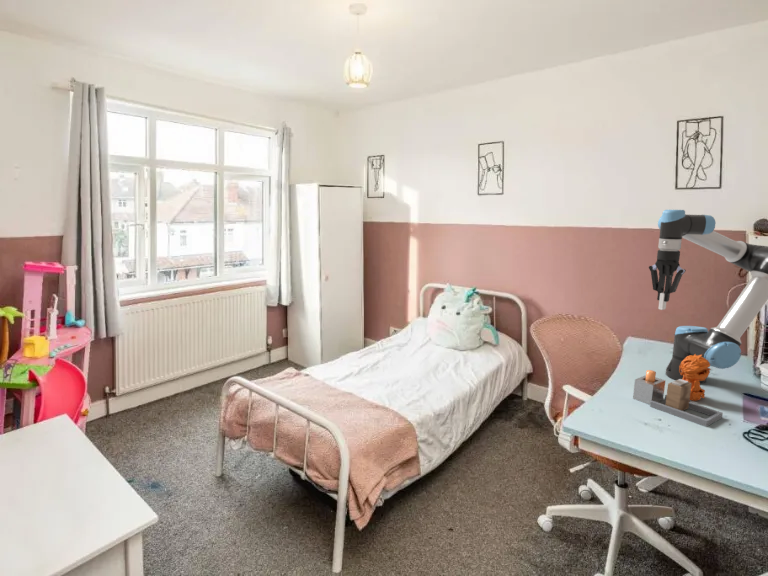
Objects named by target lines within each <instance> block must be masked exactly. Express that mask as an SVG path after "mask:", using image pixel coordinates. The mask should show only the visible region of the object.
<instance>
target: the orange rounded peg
mask: <svg viewBox="0 0 768 576" xmlns="http://www.w3.org/2000/svg"><path fill="white" fill-rule="evenodd" d="M656 374H657V372H656V371H655V370H651V369H648V370H646V371H645V375H646V379H645V380H646V381H649V382H652V383H654V382H655V377H656Z"/></svg>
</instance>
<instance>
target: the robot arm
mask: <svg viewBox="0 0 768 576" xmlns="http://www.w3.org/2000/svg"><path fill="white" fill-rule="evenodd" d="M657 227H658V229H659V237H658V247H657V248H658V250H657V253H656V261H655V263H654V264H652V265H649V266H648V269H649V271H650V274H651V275H650V276H651V283H652V289H653V291H655V292H657V297H656V300H657V301H658V310H661V311H663V310H666V308H667V302H668V303H669V301H670V296H671V294H673V293H676V291H677V289H678V286H679V284H680V282H681V279H682V277H683V275H684V274H685V273H686V269H685V268H682V266H680V258H681V257H680V256H681V251H680V250H682V249H681V248H682V240H683V239H684V240H687V241H689V242H691V243H693V244H696V245H698V246H699V247H702V248H704V249H706V250H708V251H711V252H713V253H715V254H717V255H720V256H722V257H724V259H725V261H726V262H729V263H731V264H732V265H735V266H737V267H739V268H741V269H743V270H744V271H746V272H747V271H748V272H750V275H751V279H750V280H749V281H748V282H747V284H746V286H745V287H744V288H743V290H741V292H740V294H739V295H738V297H737V298H736V300H735V301H733V303H732V305H731V306H730V308H729V309H728V310H727V312H726V314H725V315H724V316H723V317H722V320H720V322H719V323H718V325H717V326H714V327H710V328H709V329H708V328H707V327H704V326H695V325H679V326H678V327H676V329H675V333H674V334H673V335H674V339H673V348H672V355H671V359H670V361H669V363H668V364H667V366H666V368H665V375H666V376H667V377H668V378H670V379H673V380H674V381H676V380H678V379H683V375H681V374H680V372H682V371H681V370H680V372H679V366H680V364H681V362H682V361H683V360H684V359H685V358H686V357H687V356H690V355H692V356H694V354H696V355H697V356H698V355H702V356H701V357H703V358H705V359H706V360H708V362H709V363H710V367H712V368H715V369H722V370H723V369H729V368H732V367H733V366H736V364H737V363H738V362H739V361H740V359H741V357H742V354H741V353H742V349H741V348H740V347H741V345H742V340H741V337H742V336H743V334H744V333H745V332H746V330H747V329H748V327H749V326H750V325H751V324H752V322H753V321H754V320H755V318H756V316H757V315H758V313H759V312H760V311H761V310H762V308H763V307H764V305H765V304H766V303H767V301H768V245H759V244H758V245H757V244H752V243H747V242H745V241H743V240H734V239H731V238H730V237H727V236H726V235H723V234H721V233H720V232H717V231H715V229H716V219H715V218H714V216H712V215H710V214H709V215H707V214H686V210H685V209H665V210H663V211H662V214H661V216H660V217H659V219H658V221H657ZM675 272H676V274H675V276H674V273H675ZM673 276H674V279H673ZM706 381H707V378H706V379H705V380H703V381H699V382H700V384H702V383H703V384H704V383H705V382H706Z"/></svg>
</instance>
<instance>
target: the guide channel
mask: <svg viewBox="0 0 768 576" xmlns="http://www.w3.org/2000/svg"><path fill="white" fill-rule="evenodd" d="M666 396H667V394H664V401H666ZM649 407H651V408H653V409H656V410H659V411H661V412H664V413H667V414H669V415H673V416H674V417H675V416H676V417H679V418H681V419H684V420H687V421H689V422H692V423H695V424H697V425H700V426H704V427H706V428H707V427H708V426H710V425H711V424H714V423H715V422H718V421H719V420H721V419H722V418H723V412H722V411H719V410H715V409H712V408H709V407H707V406H704V405H700V404H697V403H694V402H691V401H689V407H688V409H689V410H693V411H695V412H699V413H701V414H705V415H707V416H708V417H707V418H703V417H701V416H698V415H695V414H691V413H690V412H687V411H685V410H684V411H681V410H678V409H675V408H672V407H669V406H667V405H665V404H663V403H660V402H655V401H651V403H650V405H649Z"/></svg>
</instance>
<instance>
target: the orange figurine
mask: <svg viewBox="0 0 768 576" xmlns="http://www.w3.org/2000/svg"><path fill="white" fill-rule="evenodd" d="M701 356H702V355H698V356H697V355H696V354H694V356H692V355H690V356H687V357H686V358H685V359H684V360H683V361H682V362H681V364H680V366H679V372H680V370H681V371H682V372H680V374H681V375H683V379H682V380H685V381H688V382H690V383H692V385H691V393H690V400H689V401H693V402H697V401H699V400H702V399H705V397H706V396H705V395H706V394H705V392H706V391H705V389H704V388H702V387H701V383H700V382H699V381H703V380H705V379H706V380H707V378H708V377H709V375H710V373H711V370H712V368H710V367H711V366H710V363H709V362H708V360H706V359H705V358H703V357H701ZM701 398H702V399H701Z"/></svg>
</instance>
